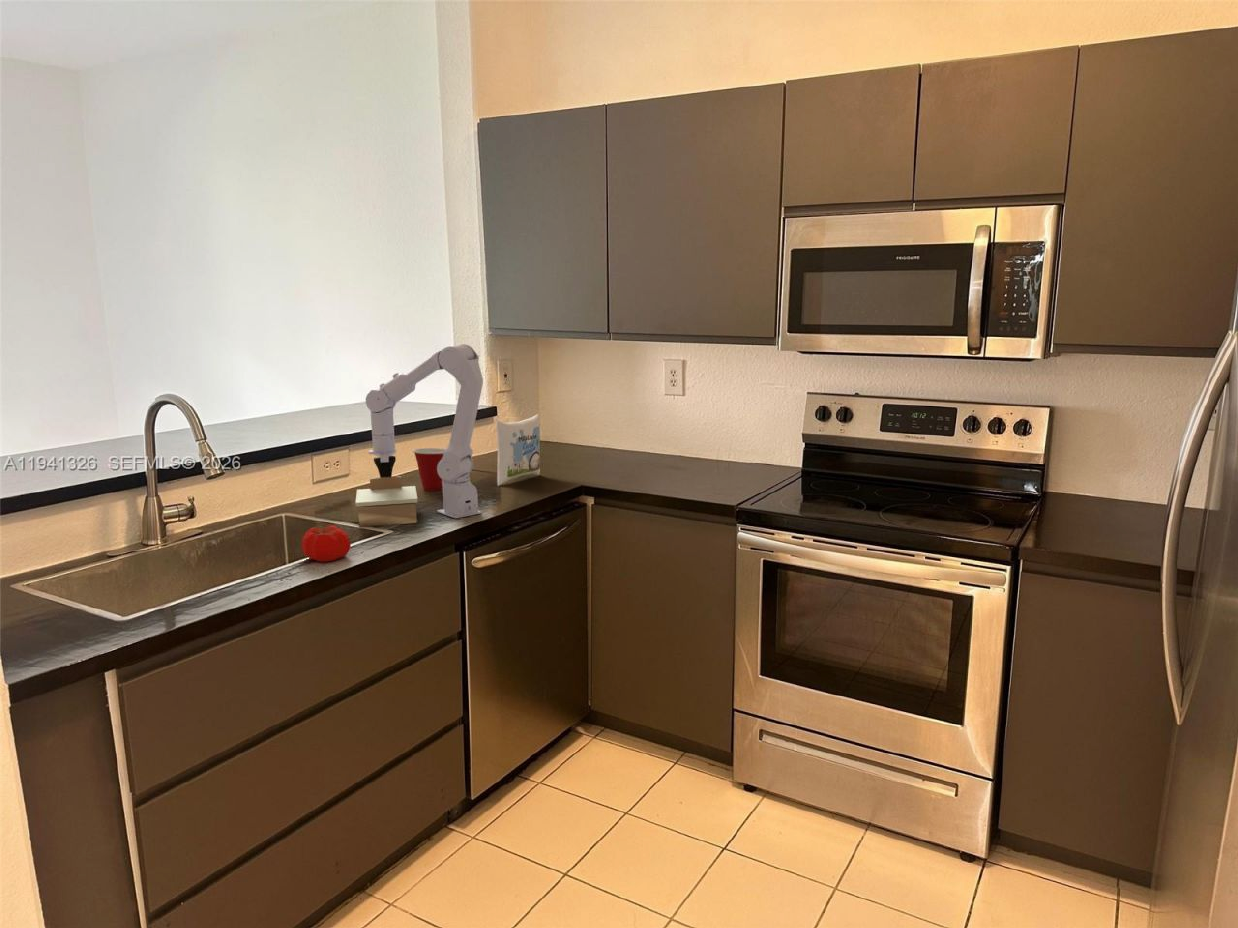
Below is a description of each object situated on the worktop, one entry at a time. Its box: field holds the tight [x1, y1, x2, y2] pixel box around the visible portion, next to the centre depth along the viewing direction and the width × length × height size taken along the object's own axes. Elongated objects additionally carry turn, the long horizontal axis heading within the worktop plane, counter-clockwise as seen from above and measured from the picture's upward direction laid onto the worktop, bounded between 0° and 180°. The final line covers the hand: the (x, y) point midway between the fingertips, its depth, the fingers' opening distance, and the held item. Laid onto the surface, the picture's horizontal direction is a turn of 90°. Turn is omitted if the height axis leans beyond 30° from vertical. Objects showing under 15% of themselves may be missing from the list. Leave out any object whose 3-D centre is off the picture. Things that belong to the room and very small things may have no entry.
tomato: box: [301, 525, 352, 563], centre depth 190 cm, size 10×11×6 cm
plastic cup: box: [412, 447, 446, 492], centre depth 255 cm, size 11×11×12 cm
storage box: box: [357, 503, 418, 528], centre depth 223 cm, size 14×14×5 cm
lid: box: [355, 475, 418, 508], centre depth 222 cm, size 15×15×4 cm
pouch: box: [496, 413, 541, 487], centre depth 264 cm, size 8×19×20 cm, turn 141°
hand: (386, 483), depth 232 cm, fingers closed
